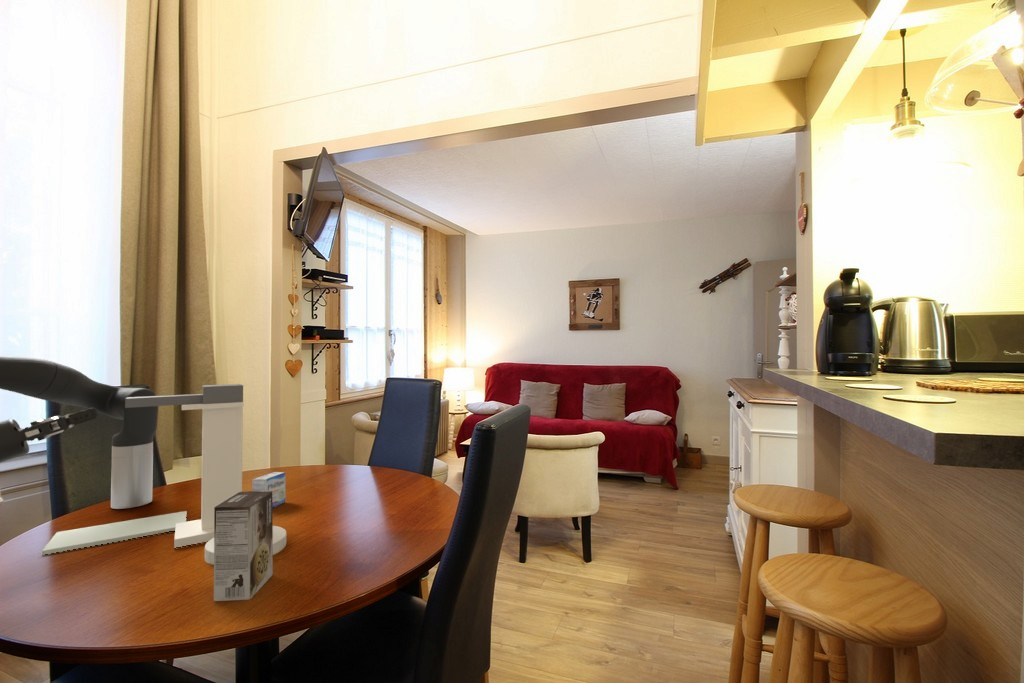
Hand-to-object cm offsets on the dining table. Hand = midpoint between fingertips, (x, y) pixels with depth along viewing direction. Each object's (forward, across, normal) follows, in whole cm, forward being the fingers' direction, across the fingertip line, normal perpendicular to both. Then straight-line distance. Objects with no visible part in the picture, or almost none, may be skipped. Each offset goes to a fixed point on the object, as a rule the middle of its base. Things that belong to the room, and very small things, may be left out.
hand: (96, 412), depth 99 cm
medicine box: (+25, +12, +40) cm, 48 cm away
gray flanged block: (+15, -2, +4) cm, 16 cm away
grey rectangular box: (+10, -36, +38) cm, 53 cm away
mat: (-5, +14, +30) cm, 33 cm away
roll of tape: (+14, -17, +38) cm, 44 cm away
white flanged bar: (+10, -1, +35) cm, 37 cm away
